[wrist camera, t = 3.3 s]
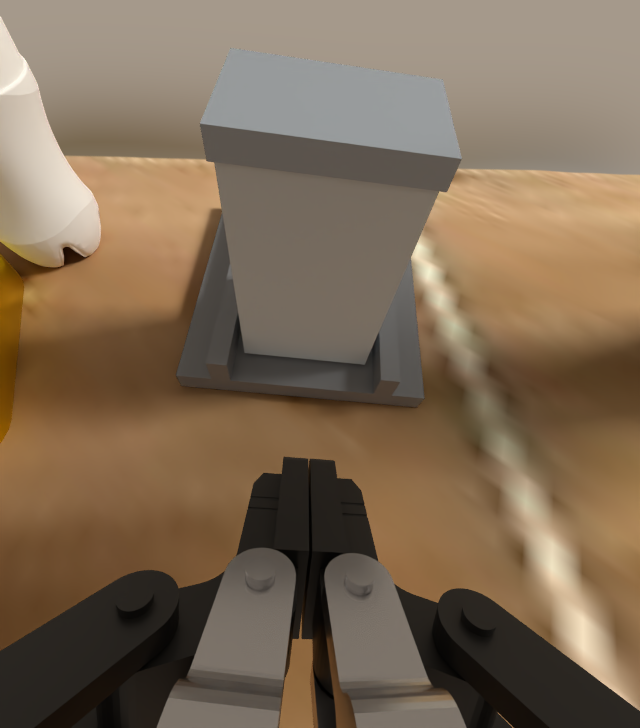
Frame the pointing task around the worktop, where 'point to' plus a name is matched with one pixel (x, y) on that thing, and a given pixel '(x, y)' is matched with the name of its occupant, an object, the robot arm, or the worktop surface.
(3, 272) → the element tile
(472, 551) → the worktop surface
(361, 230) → the grey tall block
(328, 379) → the track
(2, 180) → the water bottle
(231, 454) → the worktop surface
